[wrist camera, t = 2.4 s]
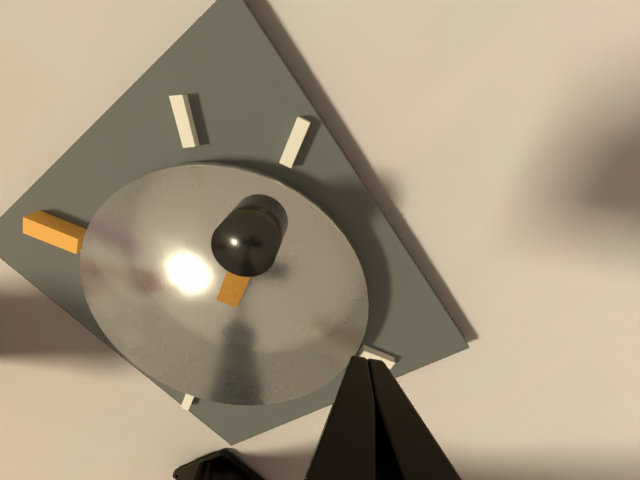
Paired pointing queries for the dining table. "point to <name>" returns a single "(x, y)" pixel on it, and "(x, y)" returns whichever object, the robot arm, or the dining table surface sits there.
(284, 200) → the dial
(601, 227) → the dining table surface
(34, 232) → the grey dial base plate
